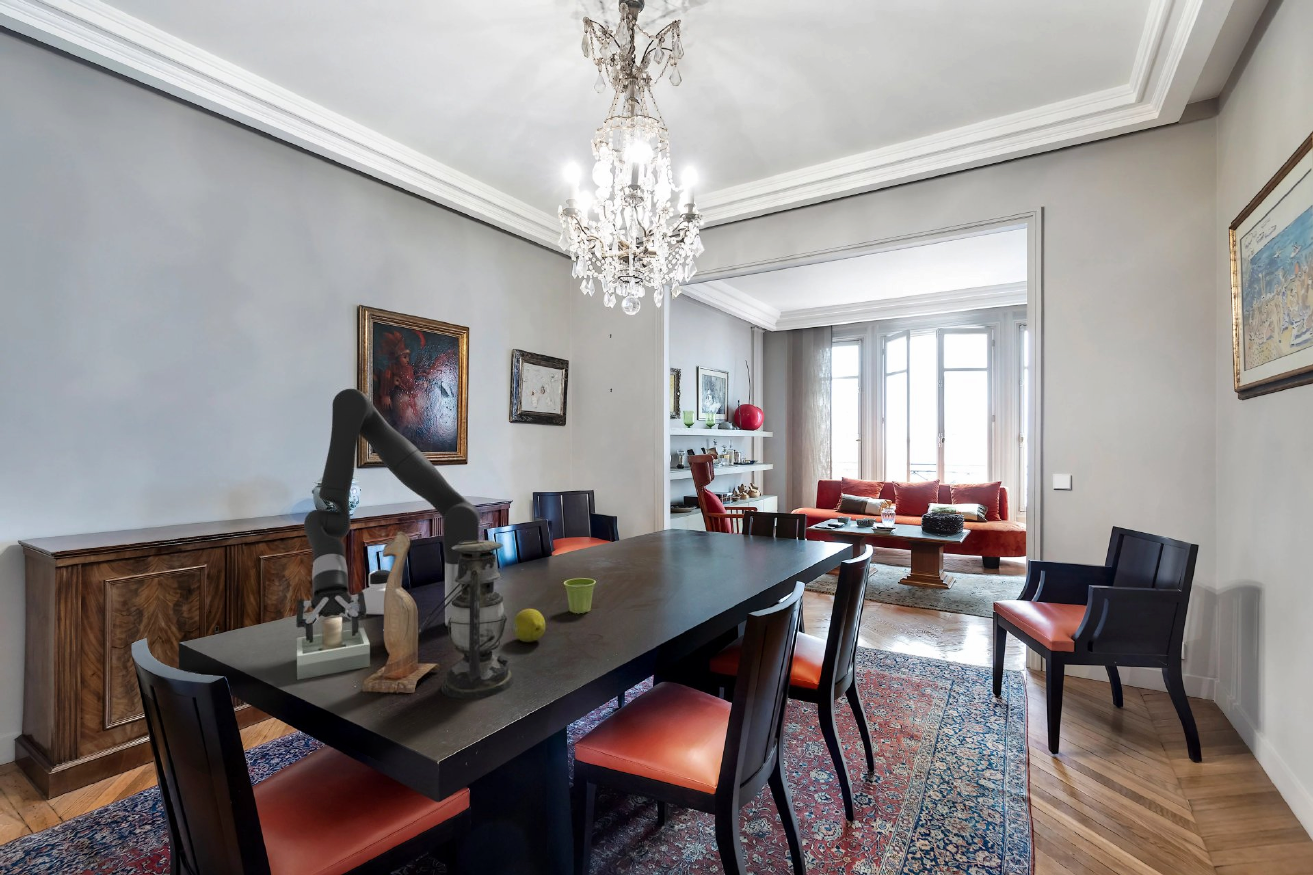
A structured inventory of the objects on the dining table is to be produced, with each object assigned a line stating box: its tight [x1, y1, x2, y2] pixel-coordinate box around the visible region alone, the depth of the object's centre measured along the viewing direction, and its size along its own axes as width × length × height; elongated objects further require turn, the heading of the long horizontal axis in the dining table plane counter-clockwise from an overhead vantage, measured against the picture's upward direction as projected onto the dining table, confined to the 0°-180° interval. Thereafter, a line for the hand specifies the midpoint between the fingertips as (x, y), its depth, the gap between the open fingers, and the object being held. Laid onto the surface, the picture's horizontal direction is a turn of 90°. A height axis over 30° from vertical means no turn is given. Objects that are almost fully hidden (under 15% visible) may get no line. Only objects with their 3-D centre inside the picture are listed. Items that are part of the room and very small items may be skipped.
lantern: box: [418, 539, 515, 700], centre depth 123 cm, size 19×19×30 cm
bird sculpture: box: [362, 531, 440, 694], centre depth 125 cm, size 11×12×32 cm
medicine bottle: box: [361, 569, 391, 615], centre depth 177 cm, size 7×7×12 cm
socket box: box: [296, 627, 371, 680], centre depth 135 cm, size 14×14×5 cm
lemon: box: [512, 608, 546, 643], centre depth 149 cm, size 11×8×8 cm
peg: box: [321, 616, 343, 651], centre depth 135 cm, size 4×4×10 cm
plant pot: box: [563, 577, 597, 614], centre depth 176 cm, size 9×9×9 cm
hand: (333, 637), depth 134 cm, fingers open, 8 cm apart
